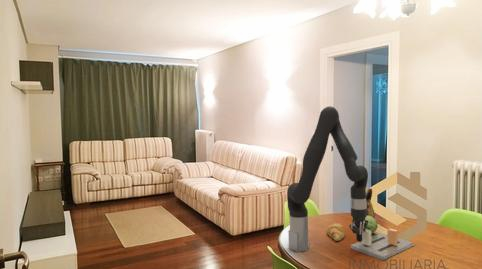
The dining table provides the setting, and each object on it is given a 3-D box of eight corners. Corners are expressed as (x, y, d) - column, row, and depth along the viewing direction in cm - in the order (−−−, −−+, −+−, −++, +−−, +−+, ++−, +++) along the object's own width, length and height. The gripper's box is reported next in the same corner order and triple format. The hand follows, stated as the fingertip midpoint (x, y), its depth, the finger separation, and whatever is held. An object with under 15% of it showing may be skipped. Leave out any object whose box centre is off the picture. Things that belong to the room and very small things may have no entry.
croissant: (342, 249, 179) (350, 236, 178) (325, 239, 180) (332, 227, 179) (339, 234, 200) (346, 222, 198) (323, 225, 201) (330, 214, 200)
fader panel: (383, 260, 156) (383, 256, 156) (350, 248, 171) (350, 244, 170) (413, 246, 171) (413, 242, 171) (380, 236, 186) (380, 232, 185)
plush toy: (350, 227, 198) (359, 186, 196) (349, 220, 211) (358, 182, 209) (375, 234, 194) (385, 192, 192) (373, 227, 208) (382, 187, 205)
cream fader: (368, 245, 168) (368, 231, 167) (361, 243, 171) (361, 229, 170) (371, 244, 169) (371, 230, 168) (364, 242, 172) (364, 228, 172)
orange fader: (395, 245, 167) (394, 231, 166) (387, 243, 170) (387, 229, 170) (397, 244, 168) (397, 230, 168) (390, 241, 171) (390, 228, 171)
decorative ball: (379, 236, 185) (378, 218, 184) (360, 236, 187) (359, 218, 186) (375, 230, 195) (375, 213, 194) (357, 230, 197) (357, 213, 196)
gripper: (357, 211, 159) (358, 247, 160) (373, 205, 167) (374, 239, 168) (343, 208, 165) (344, 242, 166) (359, 202, 173) (360, 235, 174)
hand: (359, 241), depth 167 cm, fingers closed
